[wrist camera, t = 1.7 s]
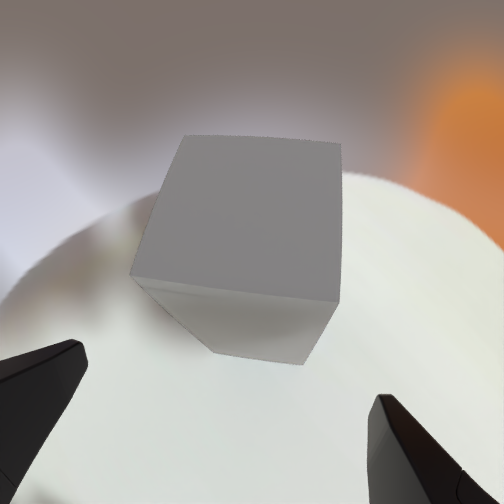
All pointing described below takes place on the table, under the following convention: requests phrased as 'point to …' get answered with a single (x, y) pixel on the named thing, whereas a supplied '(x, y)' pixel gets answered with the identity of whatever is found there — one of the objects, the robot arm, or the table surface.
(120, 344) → the table surface
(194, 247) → the smooth gray cuboid
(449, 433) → the table surface
